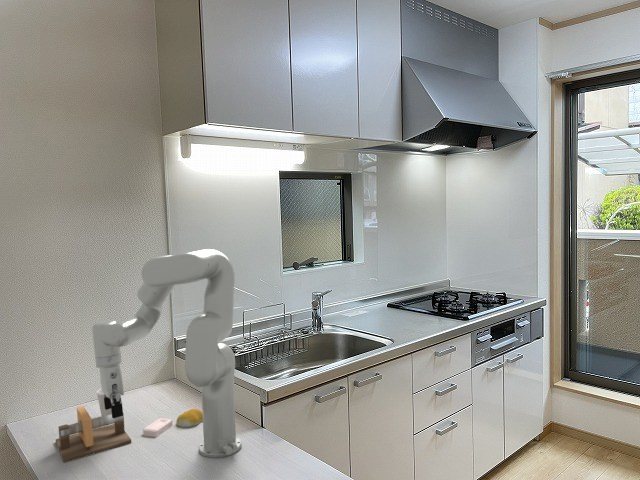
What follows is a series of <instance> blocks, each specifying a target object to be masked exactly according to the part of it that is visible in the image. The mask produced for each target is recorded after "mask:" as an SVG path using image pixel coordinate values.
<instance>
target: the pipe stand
mask: <svg viewBox="0 0 640 480" xmlns="http://www.w3.org/2000/svg"><path fill="white" fill-rule="evenodd" d="M124 414H125V413H124V412H123V416H121V417H117V418H112V414H110V415H106V416H99V417H95V418H91V419H92V429H93V444H94V445H92V446H89V447H86V446H85V444H84V442H83V440H82V438H81V436H80V434H79V432H83V427H82V422H78V421H77V422H75V423H71V424H67V423H66V424H63V425H59V426H58V435H59V436H58V438H56V439H55V443H56V447H57V449H58V452H59V455H60V457H61V459H62V462H63V463H67V462H69V461H74V460H77V459H80V458H85V457H88V456H91V455H94V454H93V453H95V454H98V453H101V451H102V452H105V451H108V449H109V450H112V449H115V448H118V447H119V448H120V447H122V446H125V445H129V444H132V439H131V437H130V436H129V435H128V434H127V432H126V431H125V430H126V429H125V419H124V418H125V417H124V416H125V415H124ZM104 450H105V451H104ZM97 452H98V453H97ZM90 454H91V455H90ZM87 455H88V456H87ZM84 456H85V457H84Z"/></svg>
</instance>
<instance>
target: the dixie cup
mask: <svg viewBox="0 0 640 480" xmlns="http://www.w3.org/2000/svg"><path fill="white" fill-rule="evenodd" d="M95 394H96V396H97V400H98V404H99V410H100V411H99V412H100V415H101V416H100V417H102V416H106V415H110V414H112V412H111V409H107V410H106V409H105V405H104V393H103V391H102V387H101V388H99V389H97V390H96V392H95ZM114 395H115V394H114ZM120 397H121V398H122V395H121V394H120Z"/></svg>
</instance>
